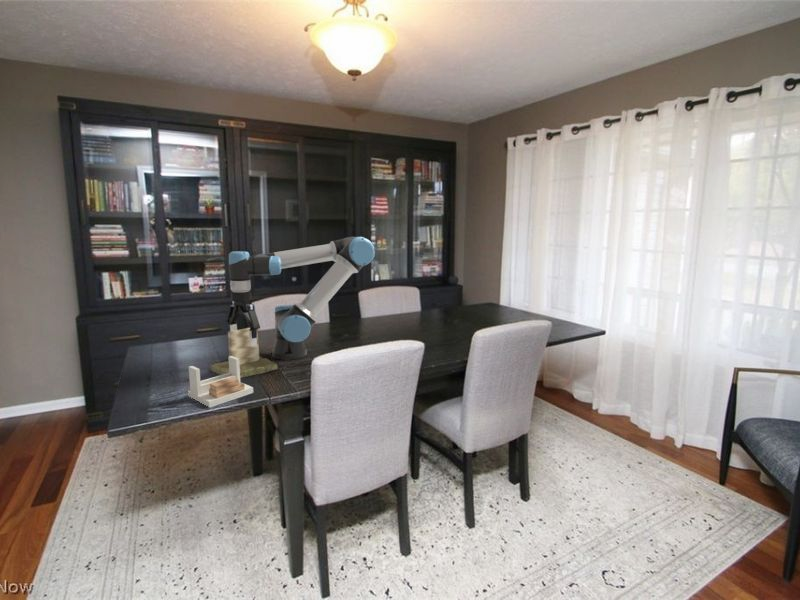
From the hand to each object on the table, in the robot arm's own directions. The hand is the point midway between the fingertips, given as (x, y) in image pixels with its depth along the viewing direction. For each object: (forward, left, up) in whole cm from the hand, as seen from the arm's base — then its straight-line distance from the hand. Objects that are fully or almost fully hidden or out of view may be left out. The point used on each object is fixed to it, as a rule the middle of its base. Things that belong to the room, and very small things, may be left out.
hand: (243, 342), depth 169 cm
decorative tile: (0, 0, -12) cm, 12 cm away
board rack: (+20, +17, -11) cm, 29 cm away
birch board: (0, 0, -8) cm, 9 cm away
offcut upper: (+21, +21, -7) cm, 30 cm away
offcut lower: (+20, +21, -9) cm, 30 cm away
